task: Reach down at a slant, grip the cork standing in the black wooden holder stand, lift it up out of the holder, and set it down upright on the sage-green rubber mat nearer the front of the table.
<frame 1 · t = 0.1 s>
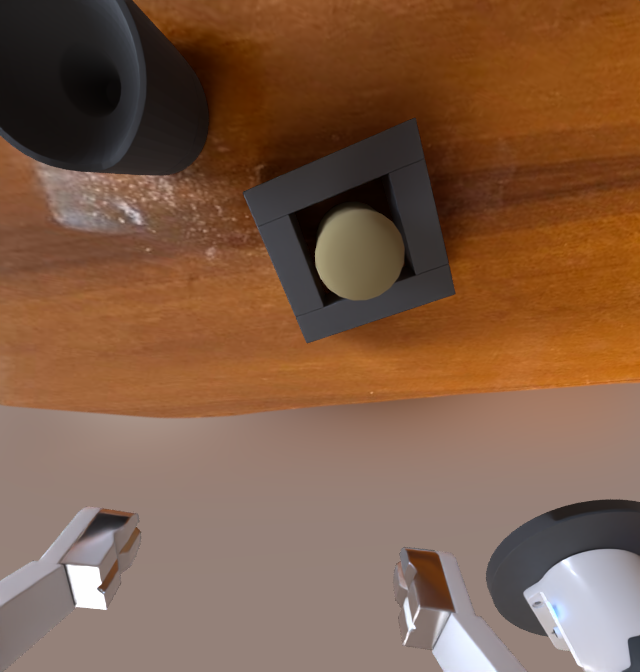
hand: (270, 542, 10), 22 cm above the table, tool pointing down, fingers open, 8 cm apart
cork: (351, 239, 28), resting in holder stand
holder stand: (351, 239, 28), on the table
pen holder: (155, 113, 25), on the table
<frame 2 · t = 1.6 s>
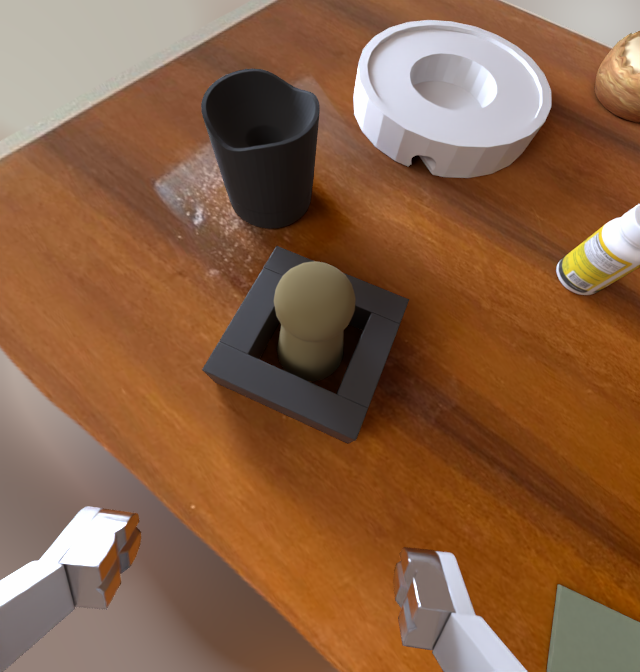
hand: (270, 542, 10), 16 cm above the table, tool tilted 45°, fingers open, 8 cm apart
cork: (310, 349, 30), resting in holder stand
ashtray: (440, 112, 43), on the table
supplement bottle: (575, 277, 34), on the table
holder stand: (310, 348, 30), on the table
pen holder: (271, 200, 36), on the table
pastry: (625, 101, 46), on the table
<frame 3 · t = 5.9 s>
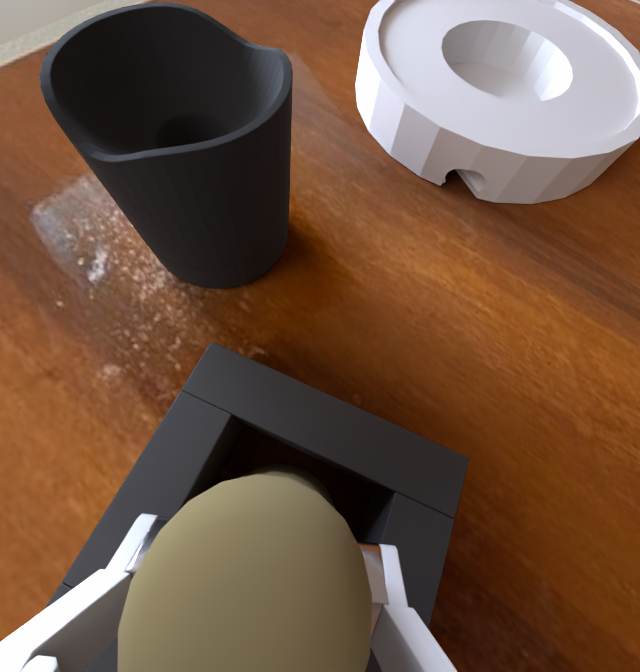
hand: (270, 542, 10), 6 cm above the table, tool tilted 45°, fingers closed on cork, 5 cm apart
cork: (276, 529, 16), resting in holder stand, touching gripper
ashtray: (481, 106, 29), on the table
holder stand: (276, 530, 16), on the table
pen holder: (224, 238, 22), on the table
when the fingers open (7 cm above the table, at t = 16.8 s): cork stays where it is, resting on mat.
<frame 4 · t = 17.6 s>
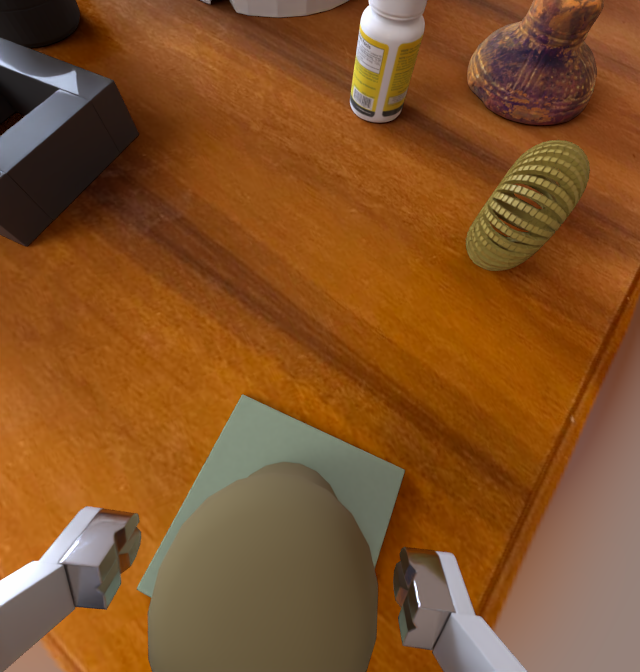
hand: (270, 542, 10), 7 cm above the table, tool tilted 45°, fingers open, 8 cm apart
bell: (521, 90, 32), on the table
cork: (283, 525, 17), resting on mat
sculpture: (485, 251, 24), on the table
supplement bottle: (374, 109, 30), on the table
holder stand: (19, 156, 25), on the table
pen holder: (35, 25, 31), on the table
mat: (282, 523, 17), on the table
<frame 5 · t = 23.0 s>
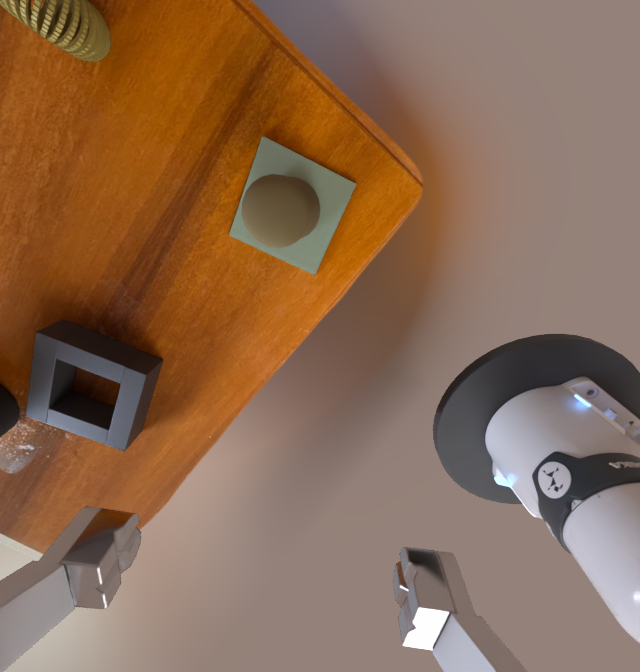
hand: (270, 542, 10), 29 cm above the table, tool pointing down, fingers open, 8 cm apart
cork: (291, 209, 33), resting on mat
sculpture: (88, 32, 29), on the table
holder stand: (105, 379, 42), on the table
mat: (290, 210, 34), on the table
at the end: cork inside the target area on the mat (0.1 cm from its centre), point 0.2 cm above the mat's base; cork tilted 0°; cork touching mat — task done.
